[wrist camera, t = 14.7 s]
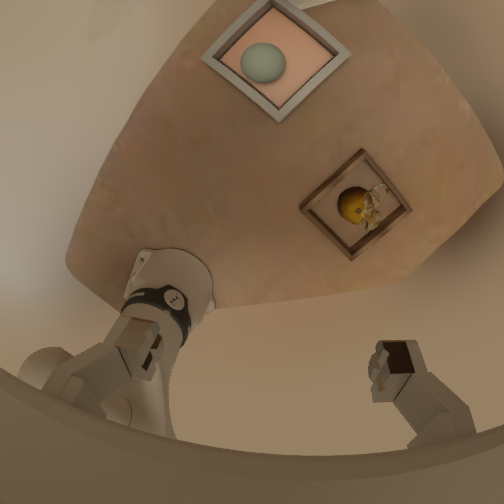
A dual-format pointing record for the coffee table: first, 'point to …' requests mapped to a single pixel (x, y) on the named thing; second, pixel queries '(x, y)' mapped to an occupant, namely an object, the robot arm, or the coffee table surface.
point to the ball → (263, 62)
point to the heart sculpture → (307, 3)
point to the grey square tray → (292, 46)
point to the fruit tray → (373, 234)
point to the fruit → (361, 205)
